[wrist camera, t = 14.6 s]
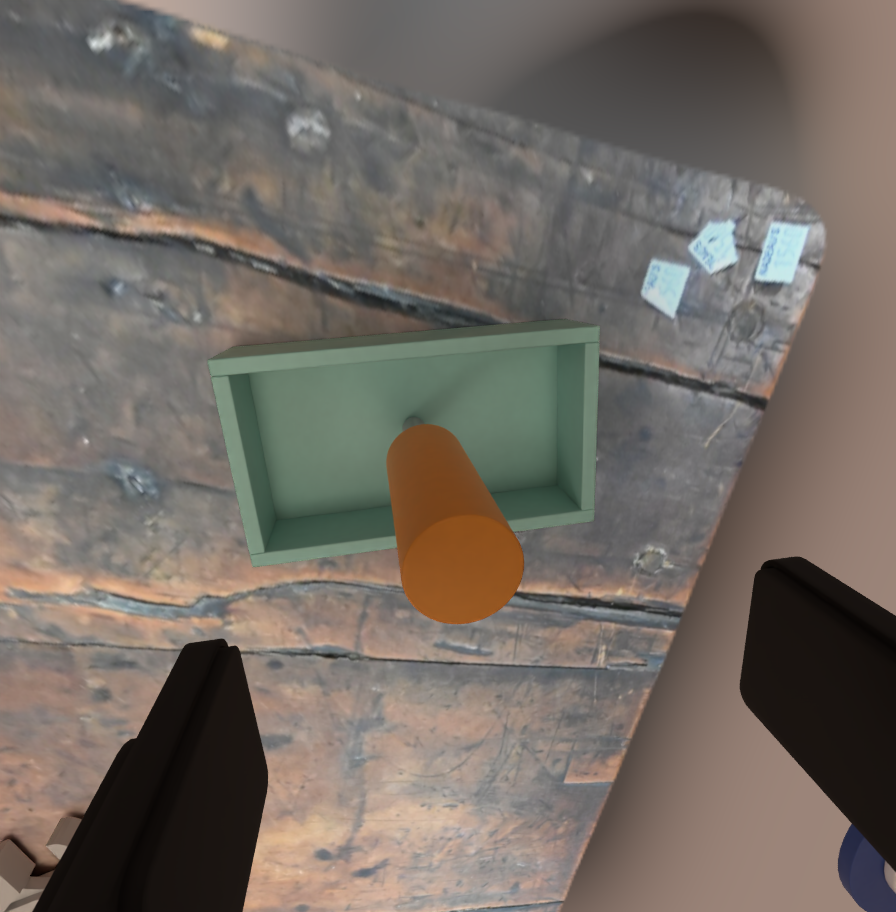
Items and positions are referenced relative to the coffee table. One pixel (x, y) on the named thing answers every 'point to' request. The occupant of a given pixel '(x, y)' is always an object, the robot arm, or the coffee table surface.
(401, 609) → the coffee table surface
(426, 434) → the orange handle
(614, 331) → the coffee table surface
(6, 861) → the adjustable wrench
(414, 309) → the coffee table surface
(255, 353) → the tray
